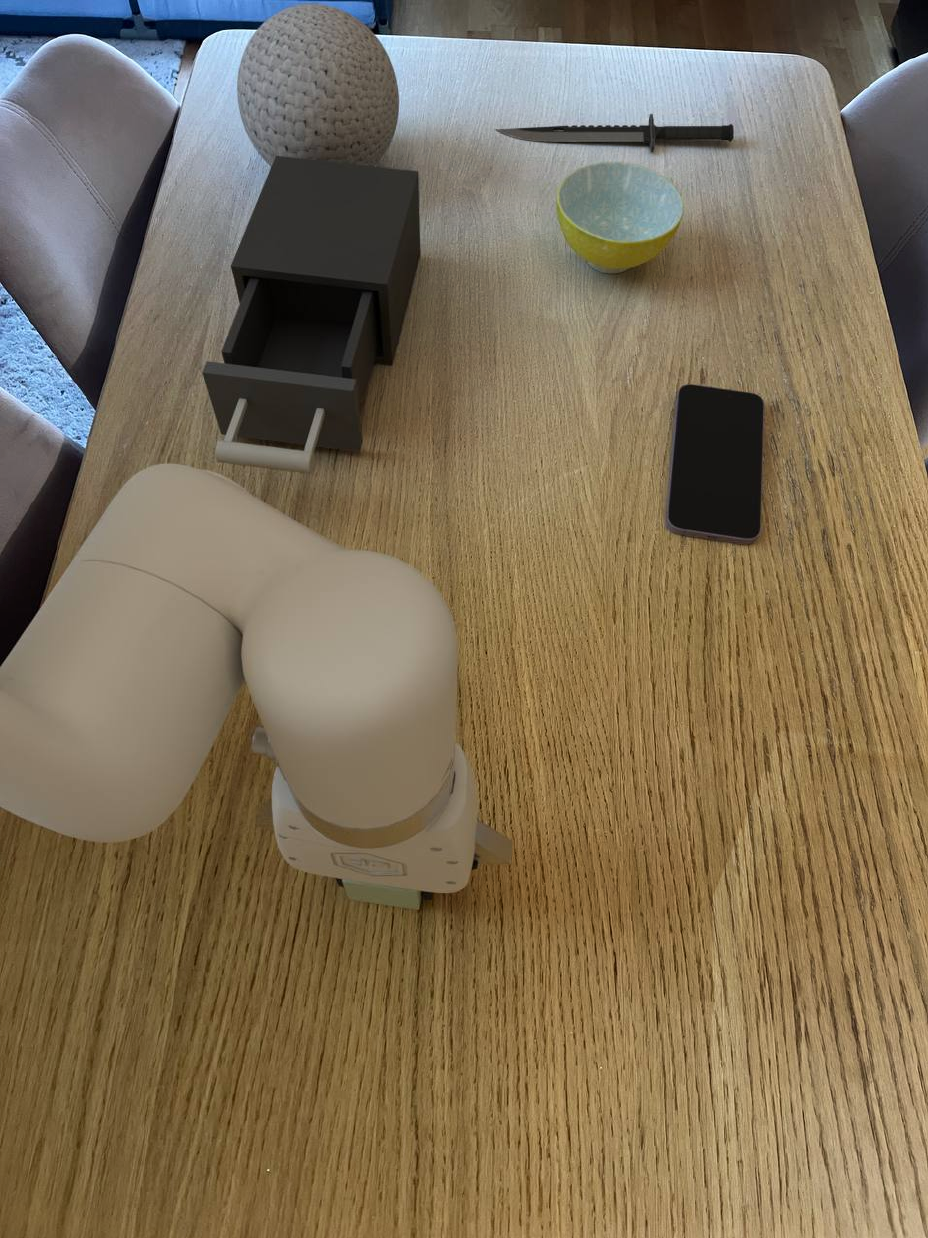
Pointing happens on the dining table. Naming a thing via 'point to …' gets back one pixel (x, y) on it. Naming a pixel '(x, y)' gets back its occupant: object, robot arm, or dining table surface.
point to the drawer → (294, 372)
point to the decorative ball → (318, 88)
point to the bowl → (618, 214)
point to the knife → (622, 133)
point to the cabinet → (337, 234)
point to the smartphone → (716, 465)
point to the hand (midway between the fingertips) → (390, 868)
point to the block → (382, 894)
